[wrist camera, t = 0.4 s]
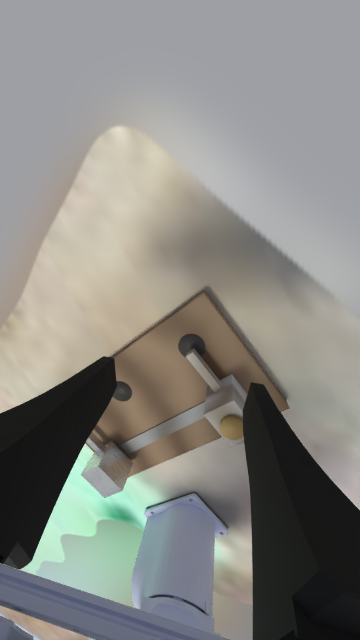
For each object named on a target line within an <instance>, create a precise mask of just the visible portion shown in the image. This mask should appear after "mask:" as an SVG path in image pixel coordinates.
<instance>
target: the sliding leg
mask: <svg viewBox="0 0 360 640" xmlns="http://www.w3.org/2000/svg"><path fill="white" fill-rule="evenodd" d="M86 442H87V443H88V444H89V445H90V446H91V447H92V448H93V449H94V450H95V452H94V454H93V455H92V457H91V459H90V460H89V462H88V464H87V465H86V467H85V468H84V470H83V472H82V473H81V475H82V476H83V477H84V478H85V479H86V480H87V481H88V482H89V483H90V484H91V485H92V486H93V487H94V488H95V489H96V490H97V491H98V492H99V493H100V494H101V495H102V496H103V497H104V498H106V497H108V496H111V495H113V494H116V493H118V492H121V491H122V490H123V488H124V485H125V483H126V481H127V478H128V476H129V473H130V471H131V468H132V466H133V463H132V462H131V460H130V459H129V458H128V457H127V456H126V455H125V454H124V453H123V452H122V451H121V450H120V449H119V448H118V447H117V446H116V445H115V444H114V443H113V441H111V442H109V443H108V444H106V445H104V444H103V443H102V442H101V441H100V440H99V438H98V437H97V436H96V435H95V434H94V433H93V432H92V433H91V434H90V436H89V438H88V439H87V441H86Z"/></svg>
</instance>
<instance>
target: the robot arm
mask: <svg viewBox="0 0 360 640" xmlns="http://www.w3.org/2000/svg"><path fill="white" fill-rule="evenodd" d="M116 388H117V381H116V371H115V360H114V358H110V357H105V356H104V357H102V358H100V359H99V360H97V361H96V362H94V363H92V364H91V365H89V366H88V367H86V368H85V369H83V370H82V371H80V372H79V373H77V374H75V375H74V376H72V377H71V378H69V379H67V380H66V381H64V382H62V383H61V384H59V385H57V386H55V387H54V388H52V389H50V390H49V391H47V392H45V393H43V394H41V395H39V396H37V397H35V398H33V399H31V400H29V401H27V402H25V403H23V404H21V405H19V406H16V407H14V408H12V409H9V410H7V411H5V412H2V413H0V563H1V564H0V605H1V606H4V607H6V608H9V609H12V610H15V611H18V612H20V613H23V614H26V615H29V616H31V617H34V618H37V619H40V620H43V621H45V622H48V623H51V624H54V625H56V626H59V627H62V628H65V629H68V630H70V631H73V632H76V633H79V634H81V635H84V636H87V637H90V638H93V639H95V640H229V639H226V638H223V637H221V635H220V634H218V633H215V635H214V618H213V617H212V613H213V579H214V543H215V537H219V536H223V535H227V534H228V529H227V528H226V527H225V525H224V524H223V523H222V522H221V521H220V520H219V519H218V518H217V517H216V516H215V514H214V513H213V512H212V511H211V510H210V509H209V508H208V507H207V506H206V505H205V503H204V502H203V501H202V500H201V499H200V498H199V497H198V496H197V495H196V494H190V495H187V496H184V497H181V498H178V499H175V500H172V501H169V502H166V503H163V504H160V505H157V506H155V507H152V508H149V509H146V510H145V512H144V514H145V516H146V517H147V522H146V525H145V529H144V533H143V536H142V540H141V544H140V547H139V551H138V554H137V558H136V562H135V566H134V569H133V575H132V599H133V603H134V606H135V608H132V607H129V606H126V605H123V604H120V603H117V602H114V601H111V600H108V599H105V598H102V597H99V596H96V595H93V594H90V593H87V592H84V591H81V590H78V589H75V588H72V587H69V586H66V585H63V584H60V583H57V582H54V581H51V580H48V579H45V578H42V577H39V576H36V575H33V574H30V573H27V572H24V571H21V570H18V569H22V568H23V567H25V566H26V565H28V564H29V563H30V562H31V561H32V559H33V556H34V554H35V551H36V549H37V546H38V544H39V541H40V539H41V537H42V534H43V532H44V529H45V527H46V524H47V522H48V520H49V517H50V515H51V513H52V511H53V508H54V506H55V504H56V502H57V499H58V497H59V495H60V493H61V491H62V488H63V486H64V484H65V482H66V480H67V478H68V476H69V474H70V471H71V469H72V467H73V465H74V463H75V461H76V459H77V457H78V455H79V453H80V451H81V450H82V448H83V446H84V444H85V442H86V441H87V439H88V438H89V436H90V434H91V433H92V431H93V429H94V428H95V426H96V425H97V423H98V421H99V420H100V418H101V416H102V415H103V413H104V411H105V410H106V408H107V406H108V405H109V403H110V401H111V399H112V397H113V394H114V392H115V390H116ZM243 435H244V444H245V451H246V459H247V467H248V475H249V483H250V496H251V521H252V562H253V640H360V510H359V509H358V508H357V507H356V506H355V505H354V504H353V503H352V502H351V501H350V500H349V499H348V498H347V496H346V495H345V494H344V493H343V492H342V491H341V490H340V489H339V488H338V487H337V486H336V485H335V483H334V482H333V481H332V480H331V479H330V478H329V477H328V476H327V474H326V473H325V472H324V471H323V470H322V469H321V467H320V466H319V465H318V464H317V463H316V461H315V460H314V459H313V458H312V456H311V455H310V454H309V452H308V451H307V450H306V449H305V447H304V446H303V445H302V443H301V442H300V440H299V439H298V438H297V436H296V435H295V433H294V432H293V431H292V429H291V428H290V426H289V425H288V423H287V422H286V420H285V418H284V417H283V415H282V414H281V412H280V411H279V409H278V407H277V406H276V404H275V402H274V401H273V399H272V397H271V396H270V394H269V392H268V390H267V389H266V387H265V385H264V384H259V383H253V382H251V384H250V387H249V391H248V394H247V397H246V401H245V404H244V408H243ZM3 564H4V565H3ZM6 565H7V566H6ZM9 566H10V567H9ZM12 567H13V568H12ZM15 568H16V569H15ZM0 640H33V636H32V635H30V634H28V633H26V632H25V631H23V630H22V629H20V628H19V627H18V626H16V625H15V623H14V622H13V621H11V620H9V619H7V618H4V617H2V616H0Z"/></svg>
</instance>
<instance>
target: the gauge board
mask: <svg viewBox="0 0 360 640" xmlns="http://www.w3.org/2000/svg"><path fill="white" fill-rule="evenodd" d="M112 358H114V360H115V371H116V381H117V388H116V390H115V392H114V394H113V397H112V399H111V401H110V403H109V405H108V406H107V408H106V410H105V411H104V413H103V415H102V416H101V418H100V420H99V421H98V423H97V425H96V426H95V428H94V429H93V431H92V432H93V433H94V434H95V435H96V436H97V437H98V438H99V440H100V441H101V442H102V443H103V444H104V445H106V444H108V443H109V442H111V441H113V443H114V444H115V445H116V446H117V447H118V448H119V449H120V450H121V451H122V452H123V453H124V454H125V455H126V456H127V457H128V458H129V459H130V460H131V462H132V463H133V466H132V468H131V471H130V473H129V476H128V477H130V476H132V475H134V474H137V473H139V472H141V471H144V470H146V469H148V468H151V467H153V466H155V465H158V464H160V463H162V462H165V461H167V460H169V459H172V458H174V457H176V456H179V455H181V454H183V453H186V452H188V451H190V450H193V449H195V448H197V447H200V446H202V445H205V444H207V443H209V442H212V441H214V440H216V439H219V438H221V437H223V439H224V440H225V441H226V442H227V443H228V445H229V446H230V447H232V446H235V445H237V444H240V443H242V442H244V435H243V408H244V404H245V401H246V397H247V394H248V391H249V387H250V384H251V382H253V383H259V384H264V385H265V387H266V389H267V390H268V392H269V394H270V396H271V397H272V399H273V401H274V402H275V404H276V406H277V407H278V409H279V411H280V412H282V411H284V410H286V409H289V406H288V404H287V401H286V399H285V398H284V397H283V395H282V394H281V393H280V391H279V390H278V389H277V387H276V386H275V385H274V383H273V382H272V381H271V379H270V378H269V376H268V375H267V374H266V372H265V371H264V370H263V368H262V367H261V366H260V364H259V363H258V362H257V360H256V359H255V358H254V356H253V355H252V354H251V352H250V351H249V350H248V348H247V347H246V346H245V344H244V343H243V342H242V340H241V339H240V337H239V336H238V335H237V333H236V332H235V331H234V329H233V328H232V327H231V325H230V324H229V323H228V321H227V320H226V319H225V317H224V316H223V315H222V313H221V312H220V311H219V309H218V308H217V307H216V305H215V304H214V303H213V301H212V300H211V299H210V297H209V296H208V294H207V293H206V292H205V291H204V292H202V293H201V294H199V295H198V296H197V297H195V298H194V299H193V300H191V301H190V302H188V303H187V304H186V305H184V306H183V307H181V308H180V309H179V310H177V311H176V312H175V313H173V314H172V315H170V316H169V317H168V318H166V319H165V320H163V321H162V322H161V323H159V324H158V325H157V326H155V327H154V328H152V329H151V330H150V331H148V332H147V333H145V334H144V335H143V336H141V337H140V338H139V339H137V340H136V341H134V342H133V343H132V344H130V345H129V346H128V347H126V348H125V349H123V350H122V351H121V352H119V353H118V354H116V355H115V356H114V357H112ZM85 443H86V444H87V445H88V446H89V447H90V449H91V450H92V451H93V452H95V450H94V449H93V448H92V447H91V446H90V445H89V444H88V443H87V442H85Z"/></svg>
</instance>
